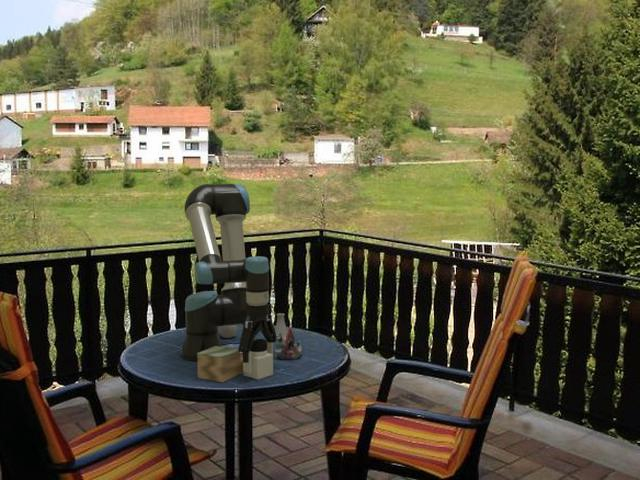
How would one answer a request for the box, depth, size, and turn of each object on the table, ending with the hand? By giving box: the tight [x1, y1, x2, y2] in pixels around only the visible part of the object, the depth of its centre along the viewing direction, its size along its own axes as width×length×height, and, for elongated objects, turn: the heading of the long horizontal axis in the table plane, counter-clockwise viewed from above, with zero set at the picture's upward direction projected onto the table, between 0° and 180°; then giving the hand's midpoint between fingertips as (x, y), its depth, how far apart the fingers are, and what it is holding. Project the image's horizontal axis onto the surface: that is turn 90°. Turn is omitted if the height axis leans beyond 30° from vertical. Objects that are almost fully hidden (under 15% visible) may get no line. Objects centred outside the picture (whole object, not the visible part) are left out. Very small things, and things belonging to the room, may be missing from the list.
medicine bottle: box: [243, 338, 274, 380], centre depth 213 cm, size 7×7×12 cm
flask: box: [274, 312, 288, 337], centre depth 261 cm, size 7×7×10 cm
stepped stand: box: [196, 346, 244, 383], centre depth 217 cm, size 10×20×8 cm, turn 153°
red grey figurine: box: [273, 326, 304, 360], centre depth 235 cm, size 11×11×12 cm
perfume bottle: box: [218, 325, 238, 339], centre depth 263 cm, size 8×10×12 cm
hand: (258, 366), depth 214 cm, fingers open, 13 cm apart
